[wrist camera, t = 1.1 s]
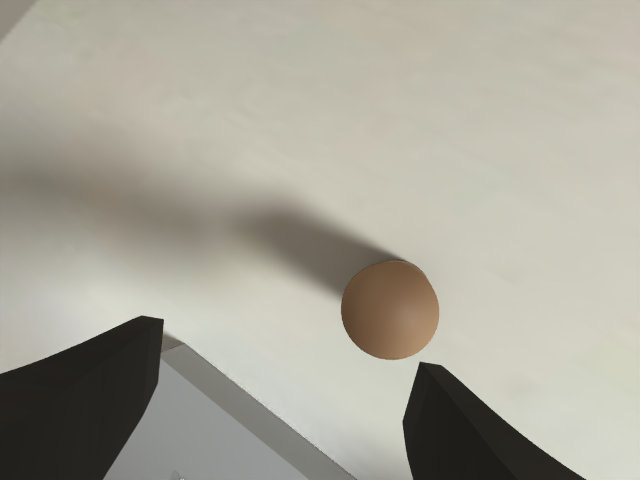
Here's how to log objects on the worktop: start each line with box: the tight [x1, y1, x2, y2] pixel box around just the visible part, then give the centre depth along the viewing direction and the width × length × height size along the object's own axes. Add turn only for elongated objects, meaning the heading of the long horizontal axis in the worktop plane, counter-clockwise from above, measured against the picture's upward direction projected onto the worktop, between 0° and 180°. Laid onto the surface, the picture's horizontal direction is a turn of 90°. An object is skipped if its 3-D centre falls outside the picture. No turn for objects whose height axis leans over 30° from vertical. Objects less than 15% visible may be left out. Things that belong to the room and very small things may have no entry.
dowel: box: [341, 260, 439, 360], centre depth 20 cm, size 4×4×8 cm
